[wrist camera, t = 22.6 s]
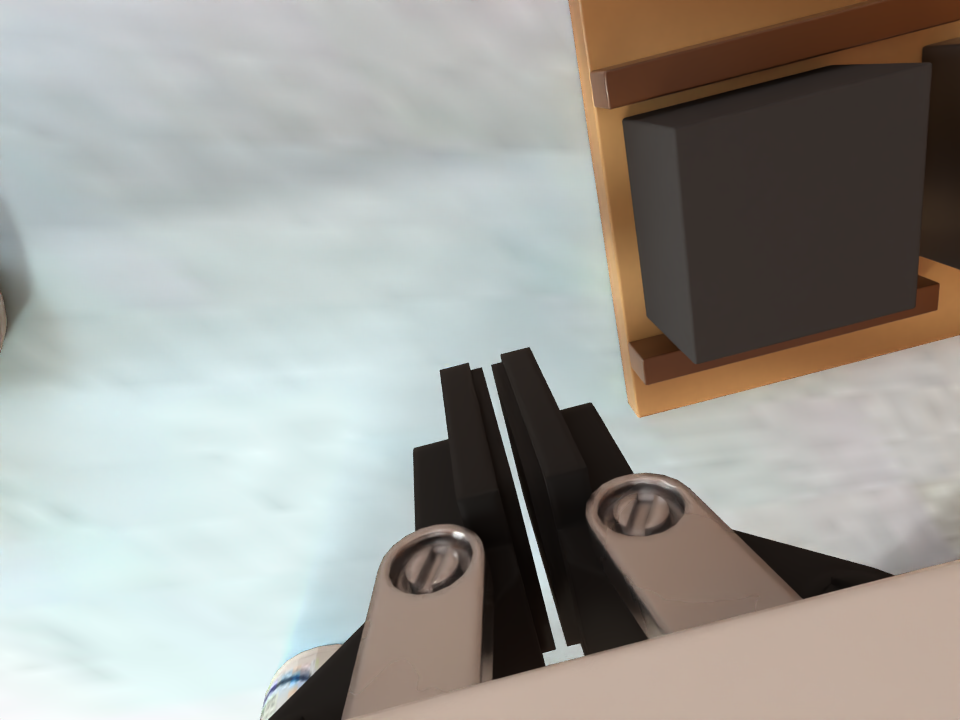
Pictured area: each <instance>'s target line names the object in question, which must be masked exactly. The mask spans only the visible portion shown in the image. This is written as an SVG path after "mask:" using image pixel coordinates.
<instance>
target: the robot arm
mask: <svg viewBox="0 0 960 720" xmlns="http://www.w3.org/2000/svg"><path fill="white" fill-rule="evenodd" d="M501 360H502V362H500V363H497V364H493V365H491V367H492V371H493V375H494V379H495V383H496V387H497V391H498V395H499V400H500V404H501V408H502V412H503V416H504V420H505V424H506V428H507V432H508V436H509V440H510V444H511V448H512V452H513V456H514V460H515V464H516V468H517V472H518V476H519V480H520V484H521V488H522V492H523V496H524V500H525V503H526V507H527V510H528V513H529V517H530V520H531V524H532V527H533V531H534V534H535V538H536V541H537V544H538V548H539V551H540V555H541V558H542V562H543V565H544V568H545V572H546V575H547V579H548V582H549V586H550V589H551V592H552V596H553V599H554V603H555V606H556V610H557V613H558V616H559V620H560V623H561V627H562V630H563V634H564V637H565V640H566V644H567V646H571V645H575V644H579V643H581V646H582V649H583V652H584V655H585V656H582V657H579V658H575V659H571V660H567V661H563V662H560V663H556V664H552V665H548V666H545V663H544V658H543V654H542V653H545V652H549V651H552V650H556V647H555V643H554V639H553V635H552V632H551V628H550V624H549V620H548V616H547V612H546V608H545V604H544V600H543V596H542V592H541V588H540V584H539V580H538V576H537V572H536V568H535V564H534V560H533V556H532V552H531V548H530V544H529V540H528V536H527V532H526V528H525V525H524V521H523V517H522V513H521V509H520V505H519V501H518V497H517V493H516V489H515V485H514V482H513V478H512V474H511V471H510V467H509V464H508V460H507V456H506V453H505V449H504V445H503V442H502V438H501V435H500V431H499V427H498V424H497V420H496V417H495V413H494V409H493V406H492V402H491V399H490V395H489V391H488V388H487V384H486V381H485V377H484V373H483V370H482V367H481V368H477V369H473V370H470V366H469V363H465V364H462V365H458V366H454V367H450V368H446V369H442V370H440V376H441V384H442V392H443V400H444V407H445V415H446V423H447V431H448V439H447V440H443V441H439V442H436V443H432V444H428V445H424V446H420V447H416V448H414V449H413V466H414V501H415V532H413V533H411V534H409V535H407V536H405V537H404V538H402V539H401V540H400V541H399V542H397V543H396V544H395V545H393V546H392V548H391V549H390V550H389V551H388V552H387V554H386V555H385V556H384V557H383V559H382V562H381V564H380V566H379V569H378V572H377V576H376V580H375V584H374V588H373V592H372V596H371V601H370V605H369V609H368V613H367V617H366V621H365V623H364V624H363V625H362V626H361V627H360V628H359V629H358V630H357V631H356V632H355V633H354V634H353V635H352V636H351V637H350V638H349V639H348V640H347V641H346V642H345V643H344V644H343V645H342V646H341V647H340V648H339V649H338V650H337V651H336V652H335V653H334V654H333V655H332V656H331V657H330V658H329V659H328V660H327V661H326V662H325V663H324V664H323V665H322V666H321V667H320V668H319V669H318V670H317V671H316V672H315V673H314V674H313V675H312V676H311V677H310V678H309V679H308V680H307V681H306V682H305V683H304V684H303V685H302V686H301V687H300V688H299V689H298V690H297V691H296V692H295V693H294V694H293V695H292V696H291V697H290V698H289V699H288V700H287V701H286V702H285V703H284V704H283V705H282V706H281V707H280V708H279V709H278V710H277V711H276V712H275V713H274V714H273V715H272V716H271V717H270V718H269V719H268V720H960V559H958V560H954V561H951V562H947V563H943V564H939V565H935V566H931V567H927V568H923V569H919V570H915V571H912V572H908V573H904V574H900V575H896V576H895V575H892V574H889V573H887V572H884V571H881V570H879V569H876V568H873V567H869V566H865V565H862V564H858V563H854V562H850V561H847V560H843V559H839V558H836V557H832V556H828V555H824V554H821V553H817V552H813V551H810V550H806V549H802V548H799V547H795V546H791V545H787V544H784V543H780V542H776V541H773V540H769V539H765V538H762V537H758V536H754V535H750V534H747V533H743V532H739V531H736V530H732V529H731V528H730V527H729V526H728V525H727V524H726V523H724V522H723V521H722V520H721V519H720V518H719V517H718V516H717V515H716V514H715V513H714V512H713V511H712V510H711V509H710V508H709V507H708V506H707V505H706V504H705V503H704V502H703V501H702V500H701V499H700V498H699V497H698V496H697V495H696V494H695V493H694V492H693V491H692V490H691V489H690V488H688V487H687V486H686V485H684V484H683V483H681V482H680V481H678V480H676V479H673V478H671V477H668V476H665V475H660V474H652V473H638V474H634V473H633V472H632V470H631V468H630V466H629V465H628V463H627V461H626V460H625V458H624V456H623V455H622V453H621V451H620V450H619V448H618V446H617V444H616V443H615V441H614V439H613V438H612V436H611V434H610V433H609V431H608V429H607V427H606V426H605V424H604V422H603V421H602V419H601V417H600V416H599V414H598V412H597V411H596V409H595V407H594V406H593V404H592V403H586V404H582V405H578V406H574V407H570V408H567V409H563V410H559V408H558V405H557V403H556V401H555V399H554V397H553V395H552V393H551V391H550V389H549V387H548V385H547V383H546V380H545V378H544V376H543V374H542V372H541V370H540V368H539V366H538V364H537V362H536V360H535V357H534V355H533V353H532V351H531V349H530V347H527V348H523V349H520V350H516V351H512V352H508V353H504V354H501Z"/></svg>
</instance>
